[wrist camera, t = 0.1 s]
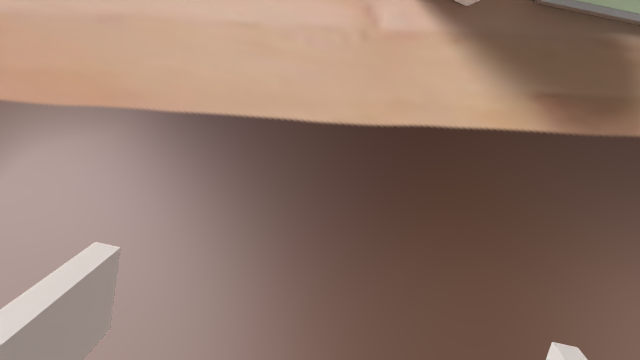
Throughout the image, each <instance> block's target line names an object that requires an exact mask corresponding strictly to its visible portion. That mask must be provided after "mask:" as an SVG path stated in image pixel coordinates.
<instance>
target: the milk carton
mask: <svg viewBox="0 0 640 360" xmlns="http://www.w3.org/2000/svg"><path fill="white" fill-rule="evenodd" d="M454 1H456V2H458V3H460V4H463V5H465V6H469V5H471V4H473V3H475V2H477V1H479V0H454Z"/></svg>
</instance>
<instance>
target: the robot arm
mask: <svg viewBox="0 0 640 360" xmlns="http://www.w3.org/2000/svg"><path fill="white" fill-rule="evenodd" d="M119 256H120V247H116V246H112V245H107V244H103V243H98V242H95V243H93V244H92V245H90V246H89V247H88V248H86V249H85V250H84V251H82V252H81V253H79V254H78V255H76V256H75V257H74V258H72V259H71V260H69V261H68V262H66V263H65V264H64V265H62V266H61V267H59V268H58V269H57V270H55V271H54V272H52V273H51V274H50V275H48V276H47V277H45V278H44V279H43V280H41V281H40V282H38V283H37V284H36V285H34V286H33V287H31V288H30V289H29V290H27V291H26V292H24V293H23V294H22V295H21V296H19V297H17V298H16V299H14V300H13V301H12V302H10V303H9V304H7V305H6V306H5V307H3V308H2V309H0V360H83V359H84V358H85V357H86V356H87V355H88V353H90V352H91V350H92V349H93V348H94V347H95V346H96V345H97V344H98V343H99V341H100V340H101V339H102V338H103V337H104V336H105V335H106V333H107V332H108V331H109V330H110V328H111V320H112V312H113V304H114V296H115V287H116V280H117V272H118V263H119ZM546 360H587V359H586V357H585V356H584V355H583V354H582V352H581V351H580V350H579V349H578V348H577V347H573V346H568V345H564V344H559V343H555V342H552V344H551V347H550V350H549V353H548V355H547V358H546Z"/></svg>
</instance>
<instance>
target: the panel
mask: <svg viewBox="0 0 640 360" xmlns="http://www.w3.org/2000/svg"><path fill="white" fill-rule="evenodd" d="M534 3H536V4H540V5H545V6H550V7H555V8H559V9H564V10H569V11H574V12H579V13H583V14H588V15H593V16H598V17H602V18H607V19H612V20H617V21H622V22H626V23H631V24H636V25H640V0H534Z"/></svg>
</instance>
